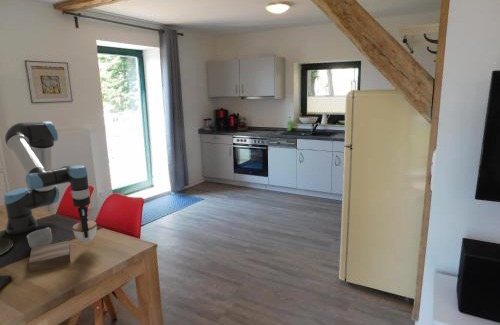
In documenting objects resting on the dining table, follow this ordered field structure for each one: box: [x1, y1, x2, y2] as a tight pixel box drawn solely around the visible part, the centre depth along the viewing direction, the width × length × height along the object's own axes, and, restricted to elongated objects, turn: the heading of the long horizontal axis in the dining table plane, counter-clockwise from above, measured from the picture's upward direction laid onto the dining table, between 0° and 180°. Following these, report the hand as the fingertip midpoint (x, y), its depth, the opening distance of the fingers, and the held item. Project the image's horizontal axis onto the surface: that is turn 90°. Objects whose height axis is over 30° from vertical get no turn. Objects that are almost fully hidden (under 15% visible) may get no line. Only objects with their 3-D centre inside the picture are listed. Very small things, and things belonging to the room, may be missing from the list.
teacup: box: [26, 227, 53, 249], centre depth 168 cm, size 14×11×8 cm
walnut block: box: [28, 240, 72, 273], centre depth 154 cm, size 16×16×5 cm
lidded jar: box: [72, 220, 98, 243], centre depth 161 cm, size 11×11×9 cm
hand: (86, 238), depth 162 cm, fingers closed on lidded jar, 11 cm apart
